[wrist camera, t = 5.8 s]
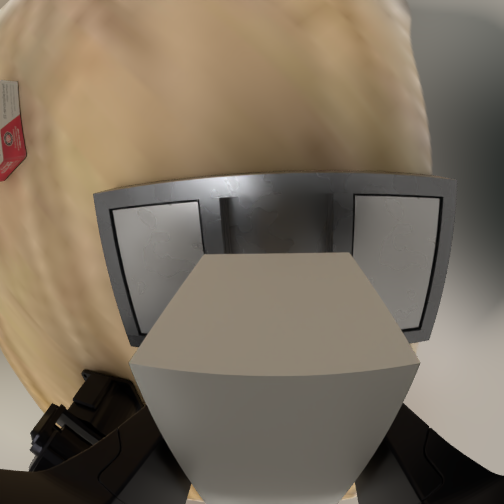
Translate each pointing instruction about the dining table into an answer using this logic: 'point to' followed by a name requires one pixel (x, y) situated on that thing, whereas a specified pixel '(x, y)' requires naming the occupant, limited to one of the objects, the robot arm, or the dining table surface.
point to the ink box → (10, 129)
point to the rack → (280, 234)
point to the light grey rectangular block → (274, 376)
